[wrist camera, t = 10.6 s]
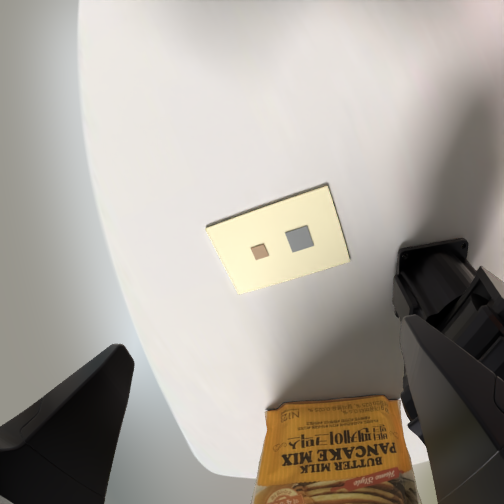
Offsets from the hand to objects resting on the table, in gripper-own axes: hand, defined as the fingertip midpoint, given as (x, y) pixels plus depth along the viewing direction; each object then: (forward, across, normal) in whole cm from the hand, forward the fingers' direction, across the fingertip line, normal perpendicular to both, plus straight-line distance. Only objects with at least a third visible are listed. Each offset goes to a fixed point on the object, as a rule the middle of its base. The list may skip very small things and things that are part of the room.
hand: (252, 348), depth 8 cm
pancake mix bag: (+13, -3, +26) cm, 29 cm away
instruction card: (+13, 0, +3) cm, 13 cm away
